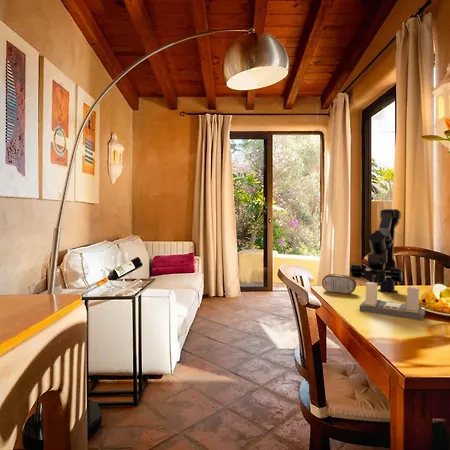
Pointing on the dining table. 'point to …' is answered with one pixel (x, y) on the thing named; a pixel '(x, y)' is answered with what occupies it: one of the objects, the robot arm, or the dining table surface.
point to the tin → (339, 284)
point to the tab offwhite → (371, 293)
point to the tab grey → (413, 298)
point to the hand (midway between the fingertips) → (372, 290)
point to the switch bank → (393, 310)
